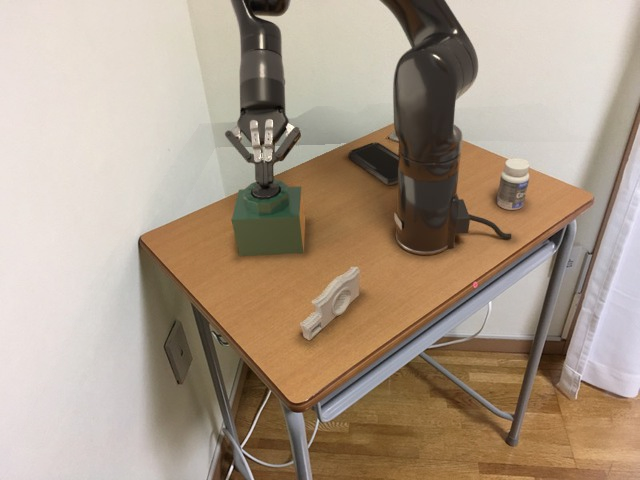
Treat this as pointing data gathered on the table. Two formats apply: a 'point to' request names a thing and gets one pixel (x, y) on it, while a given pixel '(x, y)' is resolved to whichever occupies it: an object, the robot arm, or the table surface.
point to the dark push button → (265, 191)
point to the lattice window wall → (332, 302)
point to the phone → (377, 162)
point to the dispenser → (269, 222)
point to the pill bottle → (513, 184)
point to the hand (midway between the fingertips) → (264, 186)
